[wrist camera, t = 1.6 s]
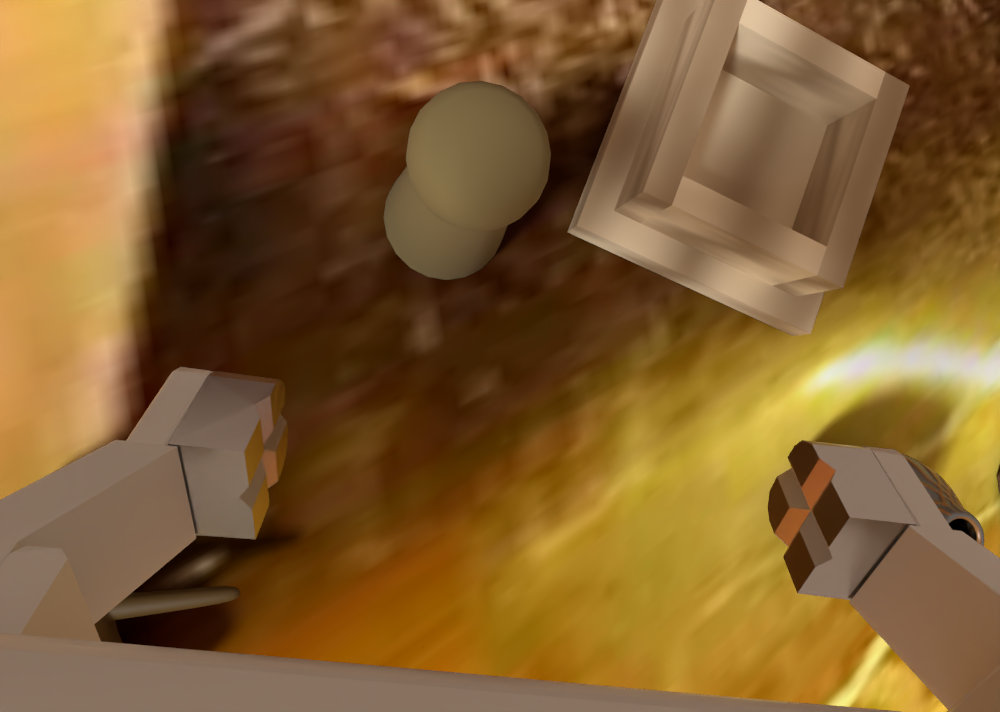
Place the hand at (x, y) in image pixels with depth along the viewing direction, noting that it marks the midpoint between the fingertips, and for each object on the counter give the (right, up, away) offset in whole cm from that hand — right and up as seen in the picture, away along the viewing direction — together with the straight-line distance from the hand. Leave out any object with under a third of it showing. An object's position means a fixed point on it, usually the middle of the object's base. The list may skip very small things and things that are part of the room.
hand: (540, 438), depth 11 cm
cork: (-3, +8, +23) cm, 24 cm away
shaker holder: (+12, +12, +26) cm, 31 cm away
